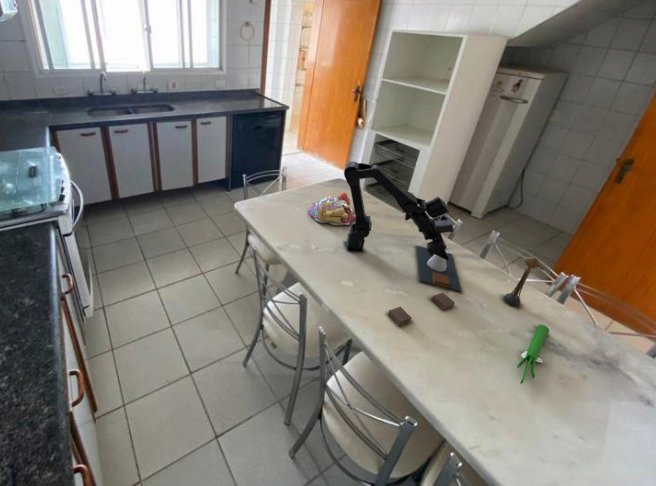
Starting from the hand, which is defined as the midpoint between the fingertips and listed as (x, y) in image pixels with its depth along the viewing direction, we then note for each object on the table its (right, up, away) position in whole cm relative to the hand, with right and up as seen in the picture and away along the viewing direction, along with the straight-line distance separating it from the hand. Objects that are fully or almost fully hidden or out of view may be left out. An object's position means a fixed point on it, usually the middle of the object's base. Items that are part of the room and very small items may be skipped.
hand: (446, 252), depth 130 cm
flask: (-2, -6, +4) cm, 8 cm away
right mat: (-2, -7, +4) cm, 8 cm away
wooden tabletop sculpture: (+17, -16, -12) cm, 26 cm away
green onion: (+8, -25, -32) cm, 41 cm away
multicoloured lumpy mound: (-37, +12, +39) cm, 55 cm away
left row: (-18, -17, -17) cm, 30 cm away
